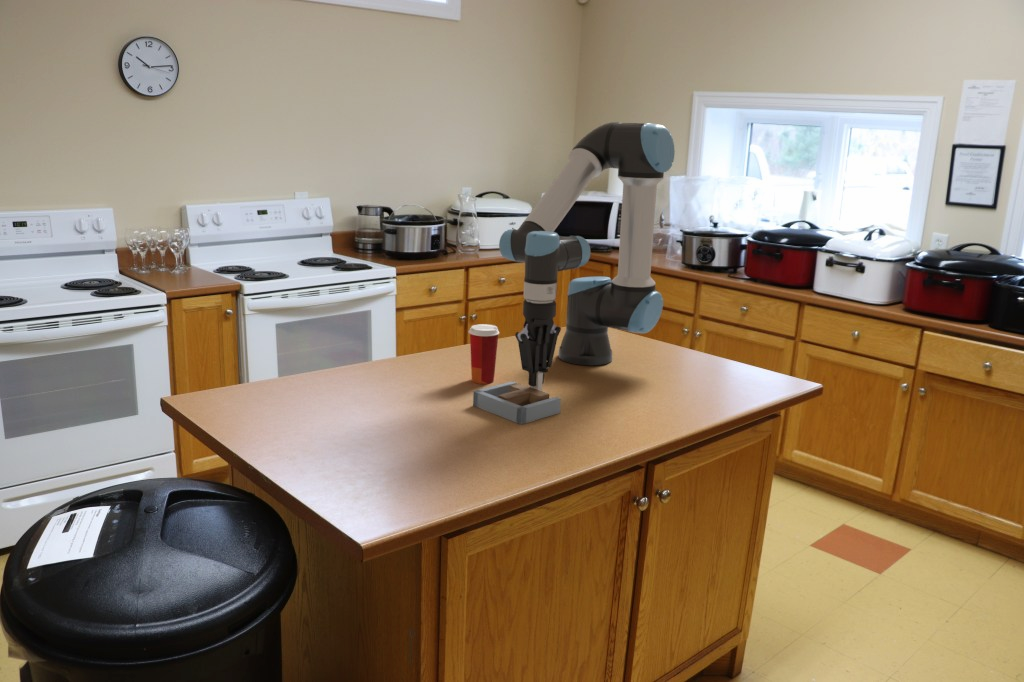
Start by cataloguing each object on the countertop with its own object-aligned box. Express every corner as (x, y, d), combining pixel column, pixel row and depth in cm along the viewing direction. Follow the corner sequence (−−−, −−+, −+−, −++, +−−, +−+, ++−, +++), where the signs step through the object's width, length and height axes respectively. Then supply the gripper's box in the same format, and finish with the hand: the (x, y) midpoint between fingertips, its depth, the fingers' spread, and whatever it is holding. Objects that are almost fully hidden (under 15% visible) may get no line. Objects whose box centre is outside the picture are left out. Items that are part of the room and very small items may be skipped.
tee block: (548, 410, 195) (549, 393, 194) (517, 419, 188) (518, 402, 187) (518, 399, 202) (519, 383, 201) (487, 407, 195) (487, 391, 194)
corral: (473, 405, 196) (473, 391, 195) (512, 395, 204) (512, 381, 203) (521, 424, 185) (521, 409, 184) (560, 412, 193) (560, 398, 192)
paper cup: (499, 377, 218) (501, 324, 214) (495, 386, 211) (497, 331, 207) (469, 375, 219) (470, 322, 215) (464, 384, 211) (466, 329, 208)
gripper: (531, 306, 185) (527, 408, 191) (571, 299, 194) (566, 396, 200) (507, 300, 190) (504, 399, 197) (547, 293, 199) (543, 388, 205)
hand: (535, 398), depth 198 cm, fingers closed
